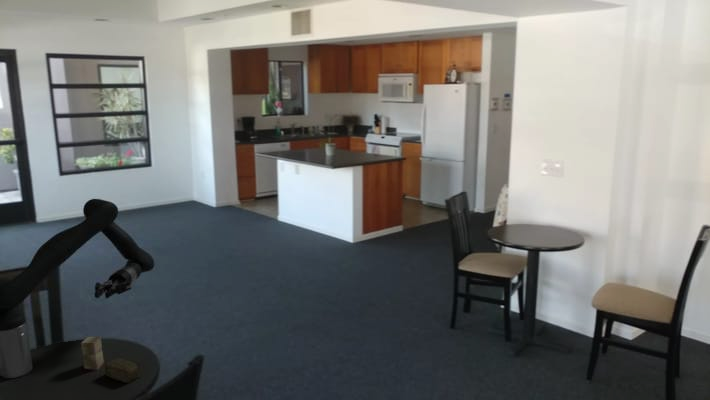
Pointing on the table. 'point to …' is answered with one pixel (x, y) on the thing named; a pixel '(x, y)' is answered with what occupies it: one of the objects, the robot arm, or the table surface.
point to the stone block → (122, 370)
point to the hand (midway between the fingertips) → (101, 295)
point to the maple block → (92, 353)
